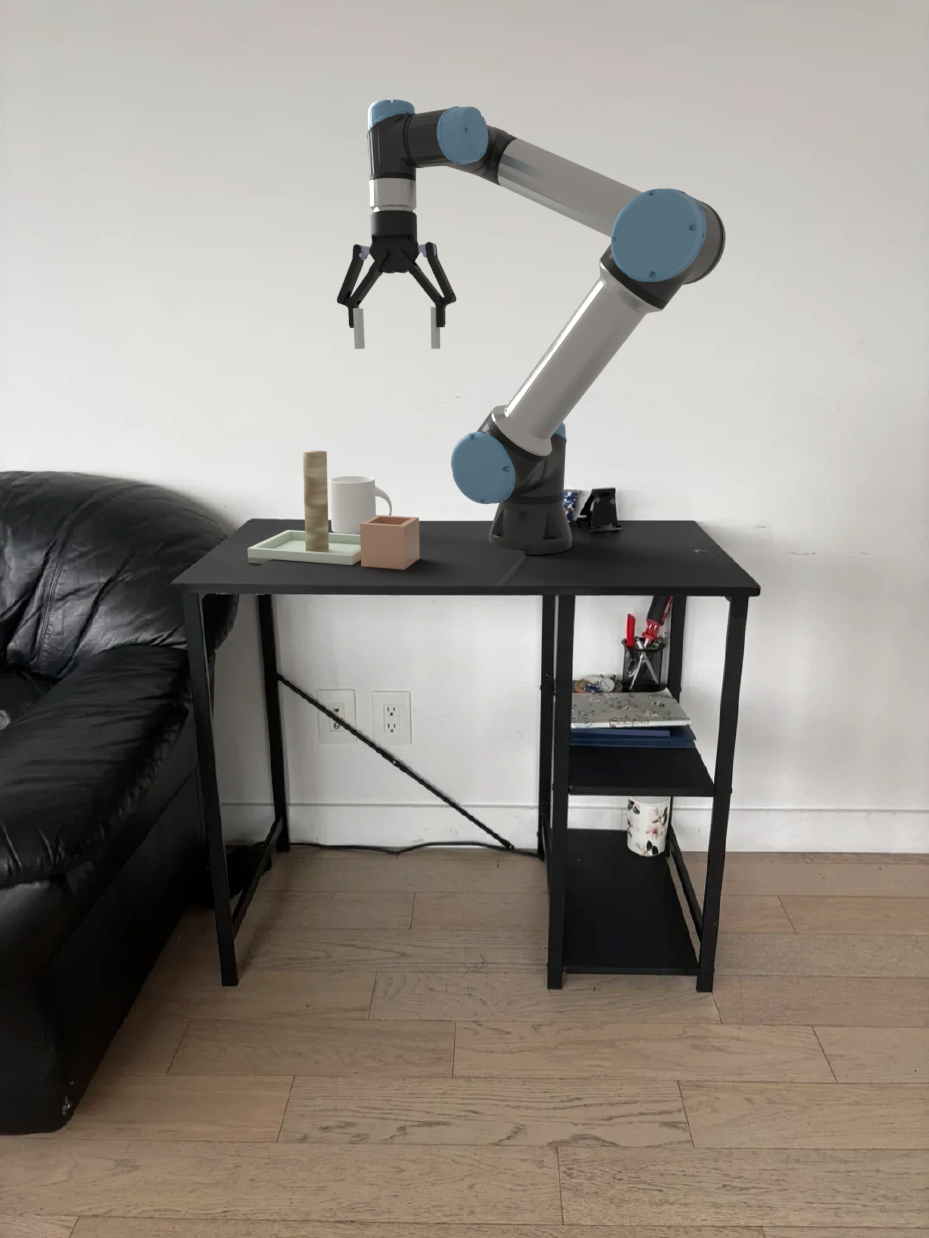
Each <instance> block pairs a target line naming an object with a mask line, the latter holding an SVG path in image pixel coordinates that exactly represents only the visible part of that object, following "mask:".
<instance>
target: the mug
mask: <svg viewBox="0 0 929 1238" xmlns="http://www.w3.org/2000/svg"><path fill="white" fill-rule="evenodd" d="M328 483H329V499H330V500H329V502H330V518H331V519H330V520H331V531H332V533H341V534H356V535H360V523H362V522H364V521H366V520H368V519H370V518H372V517H374V516H376V515H377V507H376V506H377V505H376V504H377V503H376V497H377V498H378V497H379V498H382V499H383V500H385V501H386V503H387V505H388V507H389V513H388V515H387V516H392V511H393V505H392V501H391V499H390V497H389V496H388V494H387V493H386V492H385V491H384V490H382V489H381V488H379V487H377V486H376V479H375V478H374V477H373V476H366V475H343V476H342V475H341V476H336V477H332V478H330V479H329V482H328Z"/></svg>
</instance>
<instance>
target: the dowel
mask: <svg viewBox="0 0 929 1238" xmlns="http://www.w3.org/2000/svg"><path fill="white" fill-rule="evenodd" d="M327 453H328V452H327V451H325V450H304V451H303V450H302V469H303V470H302V472H303V474H302V475H303V505H304V508H303V509H304V531H305V545H306V551H311V552H327V551H329V534H328V533H329V499H328V498H329V496H328V494H329V493H328V491H329V490H328V488H329V487H328V457H327V456H328V454H327Z"/></svg>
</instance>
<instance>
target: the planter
mask: <svg viewBox="0 0 929 1238" xmlns="http://www.w3.org/2000/svg"><path fill="white" fill-rule="evenodd" d="M359 535H360V543H361V560H360V563H361V564H360V565H361V567H365V568H376V569H377V568H379V569H391V570H406V569H408V568H409V567H410V566H412V564H414V563H416V562H418V560H420V556H421V555H420V517H417V516H402V515H401V516H400V515H398V516H397V515H391V516H388V515H383V514H376V516H374V517H372V518H370V519H368V520H366V521H364V522H362V523H360V534H359Z"/></svg>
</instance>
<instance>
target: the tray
mask: <svg viewBox="0 0 929 1238" xmlns="http://www.w3.org/2000/svg"><path fill="white" fill-rule="evenodd" d="M328 534H329V551H327V552H311V551H306V545H305V530H295V529H294V530H292V529H287V530H285V531H283V532H280V533H278V534H276V535H274V536H271V537H269V538H267V539H265V540H263V541H261V542H258V543H256V544H254V545H252V546H249V547H248V548H247V549H246V550H247V560H248V561H247V562H248V563H249V564H260V565H263V564H265V563H268V562H269V561H272V560H277V561H293V562H302V563H303V562H306V563H317V564H318V563H319V564H332V565H345V566H353V565H355V564H356V563H359V562H360V561H361V543H360V534H341V533H335V532H328Z"/></svg>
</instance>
